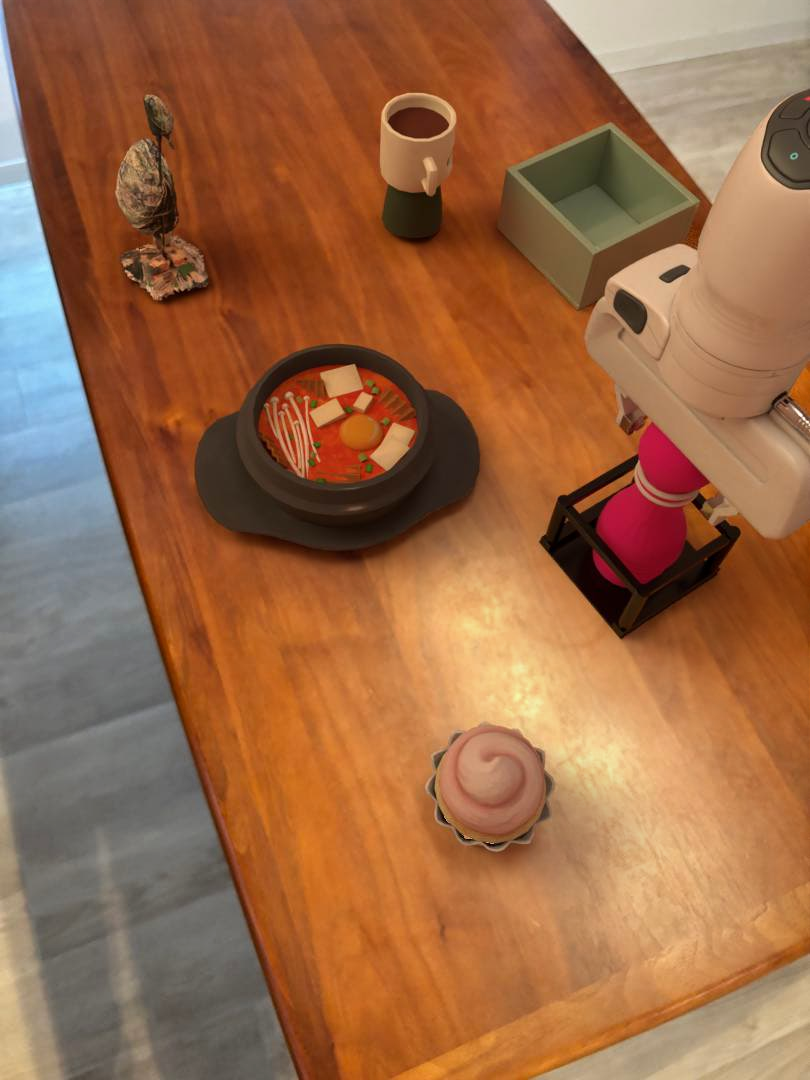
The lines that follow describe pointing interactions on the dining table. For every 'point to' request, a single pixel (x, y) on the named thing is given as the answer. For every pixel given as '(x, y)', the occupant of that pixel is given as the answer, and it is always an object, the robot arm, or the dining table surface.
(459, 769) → the cupcake
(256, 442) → the casserole
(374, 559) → the dining table surface
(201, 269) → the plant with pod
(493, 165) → the dining table surface
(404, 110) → the character mug
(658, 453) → the pepper mill
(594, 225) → the open square box
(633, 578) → the black open frame holder
